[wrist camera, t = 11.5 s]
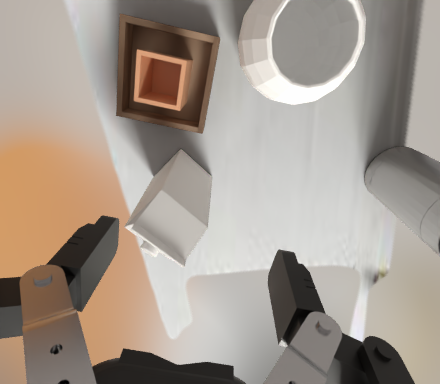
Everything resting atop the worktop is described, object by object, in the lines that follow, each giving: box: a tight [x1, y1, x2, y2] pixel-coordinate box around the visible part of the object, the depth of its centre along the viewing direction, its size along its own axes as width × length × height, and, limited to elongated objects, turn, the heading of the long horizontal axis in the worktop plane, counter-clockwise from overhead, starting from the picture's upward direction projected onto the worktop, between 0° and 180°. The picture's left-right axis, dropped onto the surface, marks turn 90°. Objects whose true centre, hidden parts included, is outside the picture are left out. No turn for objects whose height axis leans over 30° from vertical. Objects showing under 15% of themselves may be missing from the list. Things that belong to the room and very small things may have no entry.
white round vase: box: [238, 0, 366, 105], centre depth 30 cm, size 13×13×14 cm
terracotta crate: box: [134, 49, 193, 111], centre depth 34 cm, size 6×6×7 cm
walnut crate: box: [116, 14, 220, 133], centre depth 36 cm, size 12×12×4 cm
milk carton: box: [125, 149, 212, 268], centre depth 37 cm, size 7×7×19 cm
